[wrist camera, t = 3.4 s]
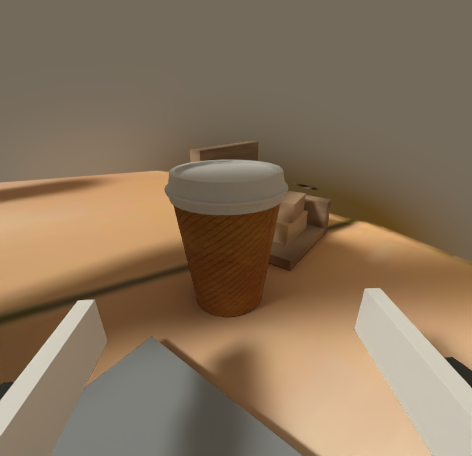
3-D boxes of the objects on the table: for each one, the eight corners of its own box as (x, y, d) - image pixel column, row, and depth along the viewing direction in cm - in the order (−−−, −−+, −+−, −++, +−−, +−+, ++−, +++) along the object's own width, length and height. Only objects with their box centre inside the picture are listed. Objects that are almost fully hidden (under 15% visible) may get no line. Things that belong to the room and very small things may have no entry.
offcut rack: (197, 239, 34) (189, 149, 29) (249, 212, 44) (250, 141, 39) (286, 273, 27) (297, 160, 22) (326, 232, 36) (340, 146, 31)
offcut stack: (234, 229, 35) (233, 194, 32) (257, 216, 39) (258, 185, 37) (287, 245, 30) (290, 206, 28) (306, 228, 34) (310, 194, 32)
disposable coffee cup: (169, 280, 26) (152, 164, 21) (249, 258, 30) (251, 155, 25) (197, 350, 18) (180, 192, 13) (300, 309, 22) (318, 174, 17)
